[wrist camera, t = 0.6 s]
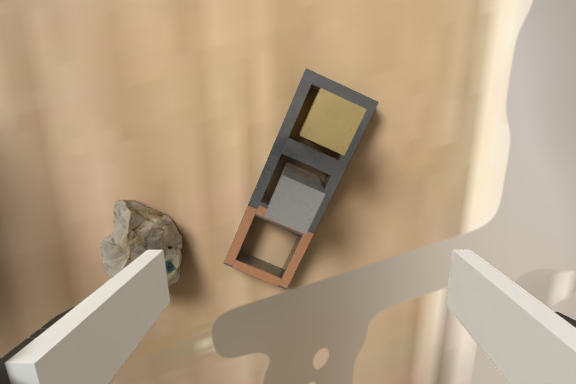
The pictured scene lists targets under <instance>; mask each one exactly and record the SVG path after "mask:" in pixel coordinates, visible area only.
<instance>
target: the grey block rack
mask: <svg viewBox="0 0 576 384" xmlns="http://www.w3.org/2000/svg"><path fill="white" fill-rule="evenodd" d="M310 87H312V88H314V89H316V90H320V89H321V88H322V89H324V90H326V91H328V92H331V93H333V94H335V95H337V96H339V97H341V98H344V99H346V100H348V101H350V102H352V103H354V104H356V105H359V106H361V107H363V108H365V109H367V110H366V112H365V114H364V116H363V118H362V120H361V122H360V124H359V127H358V129H357V131H356V133H355V135H354V137H353V139H352V141H351V143H350V145H349V147H348V149H347V151H346V153H345V155H342V154H339V153H338V154H337V156H336V158H335V157H333V156H330V155H328V154H326V153H324V152H321V151H319V150H317V149H315V148H312V147H310V146H308V145H306V144H304V143H301V142H299V141H297V140H295V139H292V138H290V137H289V136H290V133H291V131H292V129H293V126H294V124H295V122H296V119H297V117H298V115H299V113H300V110H301V108H302V106H303V103H304V101H305V99H306V96H307V94H308V92H309V89H310ZM378 103H379V102H377V101H375V100H373V99H371V98H369V97H367V96H365V95H362V94H360V93H358V92H356V91H354V90H352V89H350V88H347V87H345V86H343V85H341V84H339V83H337V82H334V81H332V80H330V79H328V78H326V77H324V76H322V75H319V74H317V73H315V72H313V71H311V70H309V69H307V68H306V69H305V72H304V74H303V77H302V79H301V81H300V84H299V86H298V88H297V91H296V93H295V96H294V98H293V100H292V103H291V105H290V107H289V110H288V112H287V114H286V117H285V119H284V122H283V124H282V126H281V129H280V131H279V133H278V136H277V138H276V140H275V143H274V145H273V148H272V150H271V152H270V155H269V157H268V159H267V162H266V164H265V167H264V169H263V171H262V174H261V176H260V178H259V181H258V183H257V185H256V188H255V190H254V193H253V195H252V197H251V200H250V202H249V204H248V207H247V209H246V211H245V214H244V216H243V219H242V221H241V223H240V226H239V228H238V230H237V233H236V235H235V238H234V240H233V242H232V245H231V247H230V249H229V252H228V254H227V256H226V259H225V261H224V264H226V265H228V266H231V267H232V268H234V269H237V270H239V271H242V272H244V273H247V274H249V275H251V276H254V277H256V278H259V279H261V280H263V281H266V282H268V283H271V284H273V285H276V286H279V287H282V288H284V289H287V288H288V286H289V284H290V281H291V279H292V277H293V275H294V273H295V271H296V269H297V267H298V265H299V263H300V261H301V259H302V257H303V255H304V253H305V251H306V249H307V247H308V245H309V243H310V241H311V239H312V237H313V235H314V232H315V230H316V228H317V226H318V224H319V222H320V220H321V218H322V216H323V214H324V212H325V210H326V208H327V206H328V204H329V202H330V200H331V198H332V196H333V194H334V192H335V190H336V188H337V186H338V184H339V182H340V180H341V178H342V176H343V174H344V172H345V170H346V167H347V165H348V163H349V161H350V159H351V157H352V155H353V153H354V151H355V149H356V147H357V145H358V143H359V141H360V139H361V137H362V135H363V133H364V131H365V129H366V127H367V125H368V123H369V121H370V119H371V117H372V115H373V113H374V111H375V109H376V107H377V105H378ZM281 154H284V155H286V156H288V157H291V158H293V159H295V160H297V161H300V162H302V163H304V164H306V165H309V166H311V167H313V168H315V169H318V170H320V171H322V172H324V173H327V174H328V175H327V177H326V179H325V181H324V184H323V189H324V191H325V196H324V199H323V201H322V203H321V205H320V207H319V209H318V211H317V213H316V215H315V217H314V219H313V221H312V223H311V225H310V227H309V229H308V231H307V234H304V233H302V232H299V231H297V230H295V229H292V228H290V227H288V226H285V225H283V224H281V223H278V222H276V221H274V220H271V219H269V218H267V217H264V216H265V213H266V210H267V208H268V205H269V202H270V200H269V199H267V198H265V197H263V196H264V194H265V191H266V189H267V187H268V184H269V182H270V180H271V177H272V175H273V173H274V170H275V168H276V166H277V163H278V161H279V159H280V156H281ZM255 216H256V217H259V218H261V219H263V220H266V221H268V222H270V223H273V224H275V225H277V226H280V227H282V228H284V229H287V230H289V231H291V232H294V233H296V234H298V235H299V236H298V238H297V240H296V242H295V244H294V246H293V248H292V250H291V252H290V254H289V257H288V259H287V261H286V263H285V265H284V267H283V269H282V268H279V267H277V266H274V265H272V264H270V263H267V262H265V261H262V260H260V259H258V258H255V257H253V256H250V255H248V254H246V253H243V252H241V251H240V249H241V247H242V244H243V242H244V240H245V237H246V235H247V233H248V231H249V228H250V226H251V224H252V221H253V219H254V217H255Z"/></svg>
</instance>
